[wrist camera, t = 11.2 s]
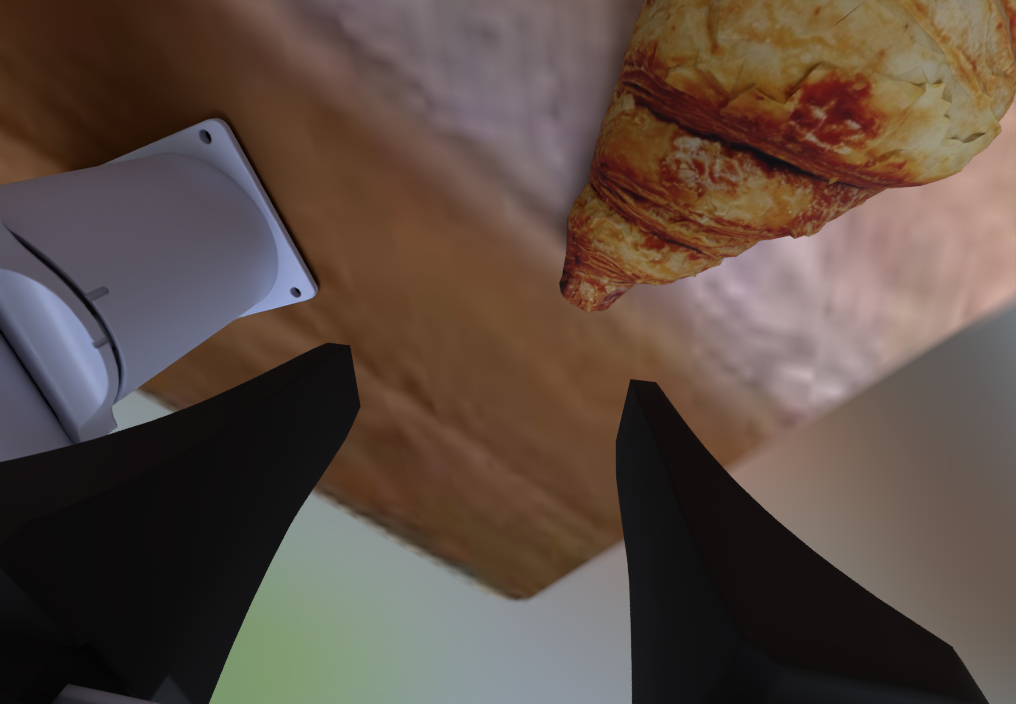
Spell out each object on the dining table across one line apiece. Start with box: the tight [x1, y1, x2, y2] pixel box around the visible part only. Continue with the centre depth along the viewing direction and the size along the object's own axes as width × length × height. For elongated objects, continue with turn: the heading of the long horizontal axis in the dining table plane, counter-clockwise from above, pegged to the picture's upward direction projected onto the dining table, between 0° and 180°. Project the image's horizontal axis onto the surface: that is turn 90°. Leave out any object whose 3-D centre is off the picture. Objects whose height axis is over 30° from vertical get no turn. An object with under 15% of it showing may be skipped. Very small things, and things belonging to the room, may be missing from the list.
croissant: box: [559, 0, 1016, 312], centre depth 12 cm, size 21×10×8 cm
